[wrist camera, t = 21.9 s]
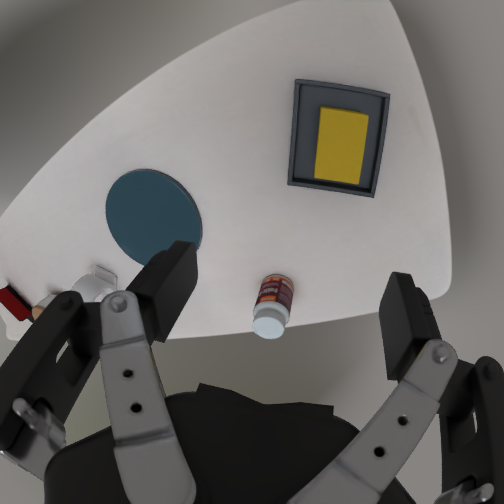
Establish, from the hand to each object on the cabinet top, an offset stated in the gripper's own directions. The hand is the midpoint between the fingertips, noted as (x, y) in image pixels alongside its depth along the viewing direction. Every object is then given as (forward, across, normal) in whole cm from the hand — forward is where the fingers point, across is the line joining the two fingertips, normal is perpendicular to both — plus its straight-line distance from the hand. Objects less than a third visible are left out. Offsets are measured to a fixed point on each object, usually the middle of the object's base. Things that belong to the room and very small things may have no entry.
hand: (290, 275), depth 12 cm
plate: (+24, +21, +12) cm, 34 cm away
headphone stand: (+24, +33, +25) cm, 48 cm away
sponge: (+24, -3, -2) cm, 24 cm away
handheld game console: (+24, +74, +43) cm, 89 cm away
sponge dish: (+24, -3, -2) cm, 24 cm away
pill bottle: (+24, +2, +20) cm, 32 cm away
